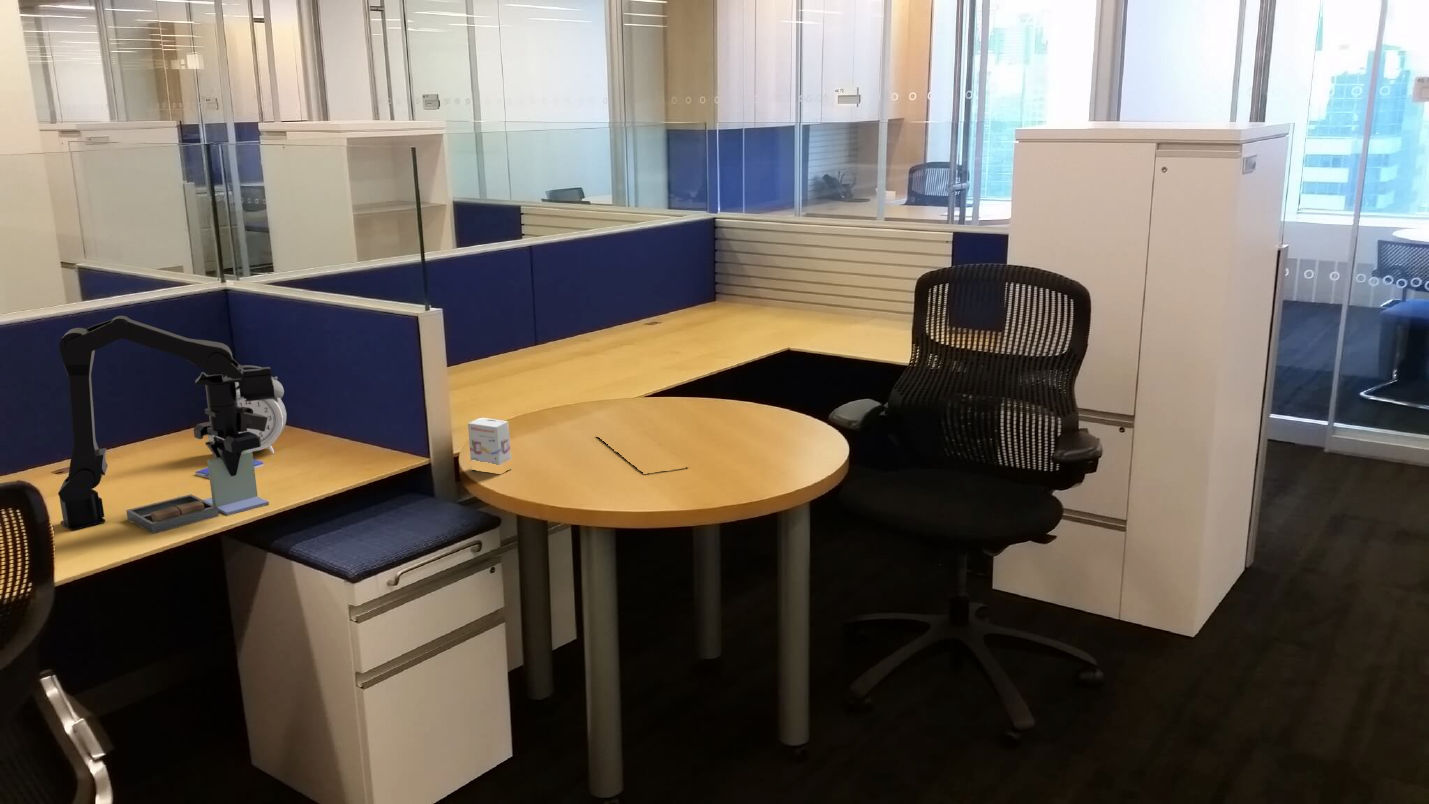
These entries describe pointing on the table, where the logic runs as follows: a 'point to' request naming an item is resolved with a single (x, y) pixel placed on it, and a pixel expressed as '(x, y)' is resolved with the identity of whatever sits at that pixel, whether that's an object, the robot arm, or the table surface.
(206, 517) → the rack
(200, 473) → the hard drive
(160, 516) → the offcut
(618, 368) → the table surface
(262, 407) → the alarm clock
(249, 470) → the green upright panel
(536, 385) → the table surface
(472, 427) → the ink box
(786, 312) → the table surface
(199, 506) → the offcut
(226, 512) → the mat
